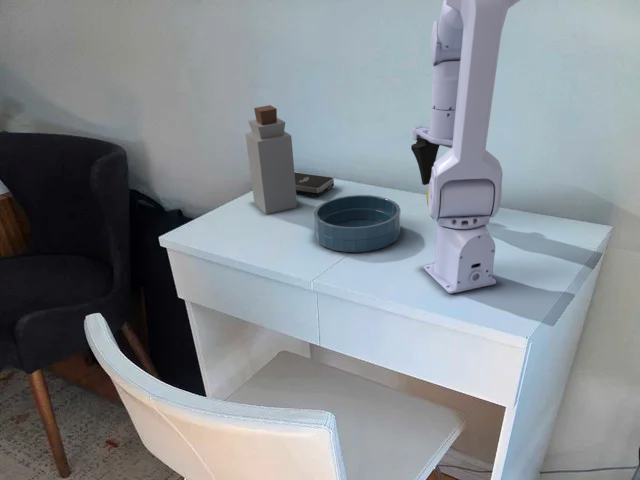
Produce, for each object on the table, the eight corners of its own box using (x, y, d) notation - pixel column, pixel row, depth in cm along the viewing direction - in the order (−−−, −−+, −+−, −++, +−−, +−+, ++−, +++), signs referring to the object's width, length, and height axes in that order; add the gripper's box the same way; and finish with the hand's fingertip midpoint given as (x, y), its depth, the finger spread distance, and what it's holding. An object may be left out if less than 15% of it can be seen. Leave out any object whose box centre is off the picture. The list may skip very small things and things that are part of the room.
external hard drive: (318, 198, 125) (317, 188, 124) (274, 191, 130) (273, 181, 128) (335, 187, 129) (334, 177, 128) (291, 180, 134) (291, 171, 133)
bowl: (413, 243, 106) (414, 218, 103) (330, 260, 103) (329, 234, 100) (380, 213, 117) (380, 189, 114) (305, 227, 114) (303, 203, 111)
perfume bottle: (254, 203, 125) (242, 107, 113) (284, 196, 127) (275, 101, 115) (266, 214, 120) (254, 115, 109) (297, 207, 122) (289, 109, 111)
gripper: (498, 108, 99) (488, 192, 108) (433, 95, 108) (429, 173, 117) (468, 117, 96) (460, 202, 105) (404, 103, 105) (402, 183, 114)
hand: (442, 188), depth 111 cm, fingers open, 7 cm apart
